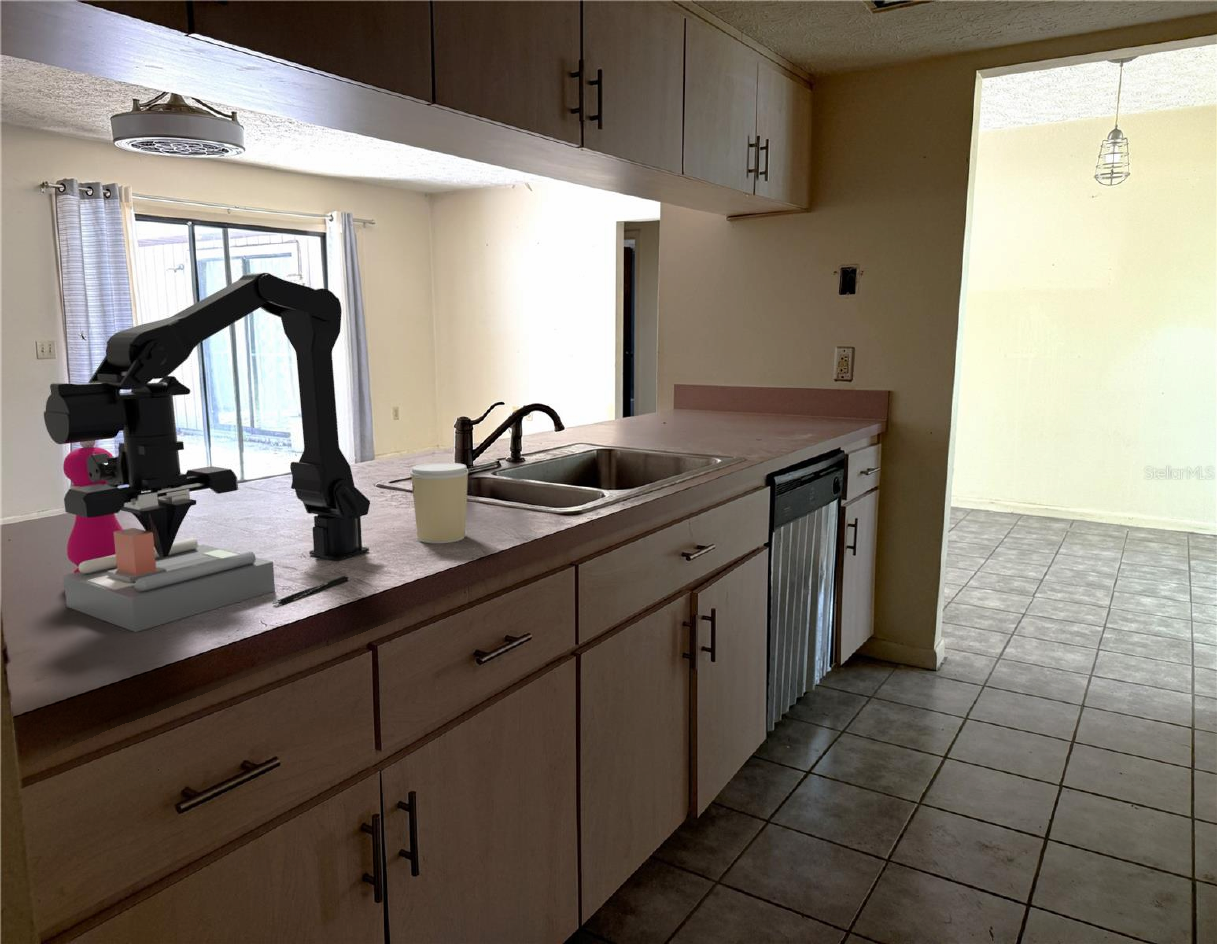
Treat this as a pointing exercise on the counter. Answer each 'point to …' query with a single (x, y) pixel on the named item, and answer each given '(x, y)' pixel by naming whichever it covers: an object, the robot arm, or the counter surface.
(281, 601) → the black thin rod
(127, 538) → the lever
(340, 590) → the counter surface
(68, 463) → the pepper mill
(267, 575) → the box
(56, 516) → the counter surface
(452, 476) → the coffee cup
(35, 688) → the counter surface
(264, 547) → the counter surface
